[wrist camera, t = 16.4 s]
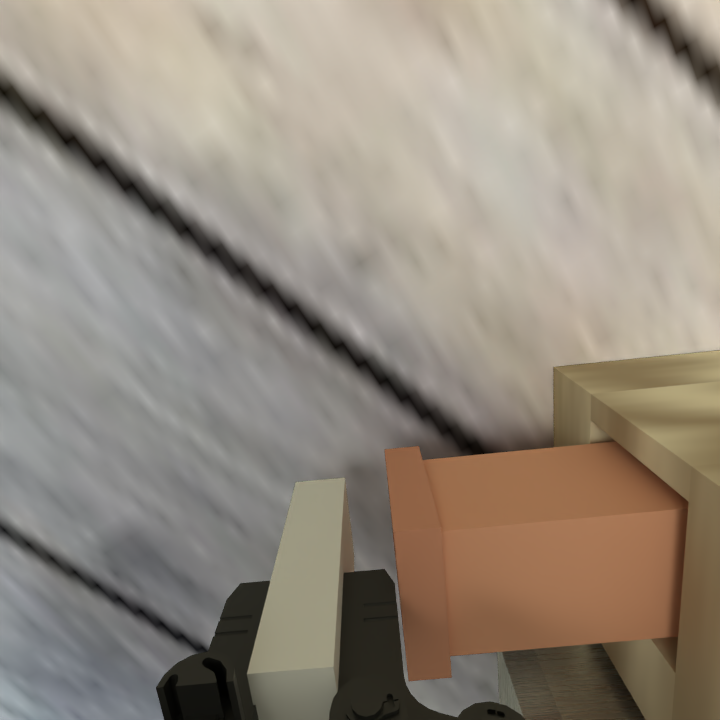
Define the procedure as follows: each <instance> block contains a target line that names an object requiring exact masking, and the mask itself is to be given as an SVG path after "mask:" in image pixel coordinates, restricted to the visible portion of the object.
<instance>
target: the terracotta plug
mask: <svg viewBox="0 0 720 720" xmlns="http://www.w3.org/2000/svg"><path fill="white" fill-rule="evenodd" d="M384 450H385V460H386V470H387V479H388V489H389V499H390V509H391V519H392V529H393V539H394V549H395V559H396V569H397V578H398V587H399V596H400V605H401V615H402V624H403V633H404V642H405V651H406V660H407V670H408V679H409V681H417V680H428V679H440V678H452V675H451V661H450V656H458V655H469V654H481V653H493V652H504V651H516V650H527V649H539V648H551V647H562V646H574V645H586V644H597V643H609V642H620V641H632V640H644V639H655V638H667V637H678V633H679V621H680V608H681V595H682V582H683V569H684V556H685V543H686V531H687V518H688V505H689V502H688V501H687V500H686V499H685V498H684V497H682V496H681V495H680V494H679V493H678V492H676V491H675V490H674V489H673V488H672V487H670V486H669V485H668V484H667V483H666V482H664V481H663V480H662V479H661V478H660V477H658V476H657V475H656V474H655V473H654V472H652V471H651V470H650V469H649V468H648V467H646V466H645V465H644V464H643V463H642V462H640V461H639V460H638V459H637V458H636V457H634V456H633V455H632V454H631V453H630V452H628V451H627V450H626V449H625V448H624V447H622V446H621V445H620V444H619V443H618V442H616V441H615V442H604V443H594V444H584V445H573V446H563V447H553V448H542V449H532V450H521V451H511V452H501V453H490V454H480V455H470V456H459V457H449V458H438V459H428V460H422V456H421V452H420V449H419V446H414V447H404V448H394V449H384Z"/></svg>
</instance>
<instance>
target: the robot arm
mask: <svg viewBox="0 0 720 720" xmlns="http://www.w3.org/2000/svg"><path fill="white" fill-rule="evenodd" d="M354 557H355V556H354V548H353V540H352V531H351V523H350V515H349V507H348V499H347V491H346V483H345V478H335V479H324V480H313V481H302V482H296V483H295V487H294V491H293V495H292V499H291V502H290V506H289V510H288V514H287V518H286V522H285V526H284V530H283V534H282V538H281V542H280V546H279V550H278V554H277V557H276V561H275V565H274V569H273V573H272V577H271V581H262V582H250V583H241V584H240V585H239V586H238V587H237V588H236V590H235V591H234V592H233V593H232V594H231V595H230V596H229V598H228V599H227V600H226V603H225V606H224V609H223V612H222V614H221V617H220V621H219V623H218V625H217V628H216V631H215V637H213V639H212V642H211V645H210V648H209V651H208V652H204V653H200V654H195V655H192V656H190V657H188V658H186V659H184V660H182V661H180V662H178V663H177V664H176V665H175V666H173V667H172V668H171V669H170V670H169V671H168V672H167V673H166V674H165V675H164V676H163V678H162V679H161V681H160V682H159V684H158V685H157V687H156V690H157V694H158V697H159V701H160V705H161V709H162V712H163V716H164V720H525V719H524V717H523V716H522V715H521V714H519V713H518V712H516V711H515V710H513V709H511V708H510V707H508V706H506V705H503V704H498V703H494V702H483V703H475V704H473V705H472V706H470V707H468V708H466V709H465V710H463V711H462V712H461V714H460V715H459V717H458V718H457V717H453V716H449V715H445V714H442V713H438V712H436V711H433V710H430V709H428V708H427V707H425V706H424V705H422V704H420V703H419V702H418V701H417V700H416V699H415V698H414V697H413V696H412V695H411V693H410V691H409V690H408V688H407V686H406V683H405V679H404V673H403V663H402V653H401V643H400V632H399V622H398V613H397V603H396V593H395V583H394V582H393V580H392V579H391V578H390V576H389V575H388V573H387V572H386V571H385V569H381V570H369V571H358V572H354Z"/></svg>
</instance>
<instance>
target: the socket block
mask: <svg viewBox="0 0 720 720" xmlns="http://www.w3.org/2000/svg"><path fill="white" fill-rule="evenodd" d="M615 441H616V442H618V443H619V444H620V445H621V446H622V447H624V448H625V449H626V450H627V451H628V452H630V453H631V454H632V455H633V456H634V457H636V458H637V459H638V460H639V461H640V462H642V463H643V464H644V465H645V466H646V467H648V468H649V469H650V470H651V471H652V472H654V473H655V474H656V475H657V476H658V477H660V478H661V479H662V480H663V481H664V482H666V483H667V484H668V485H669V486H670V487H672V488H673V489H674V490H675V491H676V492H678V493H679V494H680V495H681V496H682V497H684V498H685V499H686V500H687V501H688V502H689V505H688V518H687V531H686V543H685V556H684V569H683V582H682V595H681V608H680V621H679V633H678V637H667V638H655V639H644V640H632V641H620V642H609V643H601V644H602V646H603V647H604V649H605V651H606V652H607V654H608V656H609V658H610V659H611V661H612V663H613V664H614V666H615V668H616V670H617V671H618V673H619V675H620V676H621V678H622V680H623V682H624V683H625V685H626V687H627V689H628V690H629V692H630V694H631V695H632V697H633V699H634V701H635V702H636V704H637V706H638V707H639V709H640V711H641V713H642V714H643V716H644V718H645V719H646V720H720V350H718V351H709V352H699V353H689V354H679V355H669V356H659V357H649V358H639V359H629V360H619V361H609V362H599V363H589V364H579V365H569V366H559V367H554V447H563V446H573V445H584V444H594V443H604V442H615Z"/></svg>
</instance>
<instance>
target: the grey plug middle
mask: <svg viewBox="0 0 720 720" xmlns="http://www.w3.org/2000/svg"><path fill="white" fill-rule="evenodd" d="M497 659H498V684H499V704H503V705H506V706H508V707H510V708H511V709H513V710H515V711H516V712H518V713H519V714H521V715H522V716H523V717H524V719H525V720H646V719H645V718H644V716H643V714H642V713H641V711H640V709H639V707H638V706H637V704H636V702H635V701H634V699H633V697H632V695H631V694H630V692H629V690H628V689H627V687H626V685H625V683H624V682H623V680H622V678H621V676H620V675H619V673H618V671H617V670H616V668H615V666H614V664H613V663H612V661H611V659H610V658H609V656H608V654H607V652H606V651H605V649H604V647H603V646H602V644H601V643H597V644H586V645H574V646H562V647H551V648H539V649H527V650H516V651H504V652H497Z"/></svg>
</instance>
